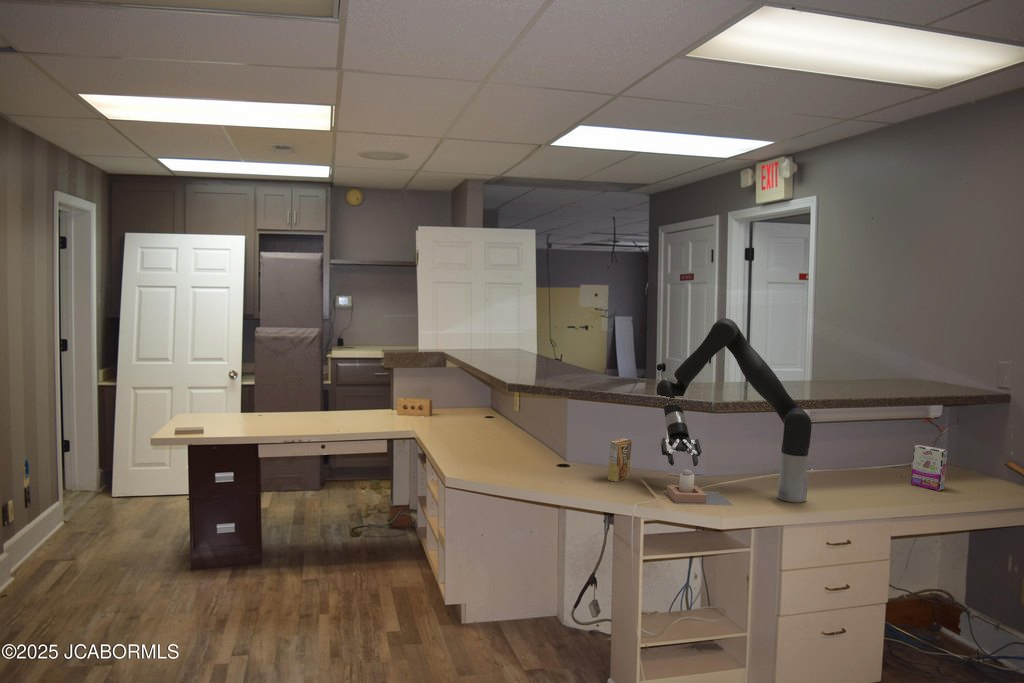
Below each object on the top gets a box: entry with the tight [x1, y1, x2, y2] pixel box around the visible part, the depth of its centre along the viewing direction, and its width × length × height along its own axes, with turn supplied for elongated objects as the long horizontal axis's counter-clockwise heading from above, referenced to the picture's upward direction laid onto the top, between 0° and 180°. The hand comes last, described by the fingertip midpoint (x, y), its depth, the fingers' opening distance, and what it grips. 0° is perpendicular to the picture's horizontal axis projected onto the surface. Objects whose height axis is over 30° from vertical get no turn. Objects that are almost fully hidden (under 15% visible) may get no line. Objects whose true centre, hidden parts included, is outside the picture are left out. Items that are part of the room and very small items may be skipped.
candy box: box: [607, 438, 633, 483], centre depth 289 cm, size 9×4×15 cm, turn 137°
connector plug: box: [678, 468, 695, 493], centre depth 265 cm, size 5×5×10 cm
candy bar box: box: [910, 444, 948, 492], centre depth 300 cm, size 11×5×16 cm, turn 40°
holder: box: [662, 484, 734, 506], centre depth 267 cm, size 21×16×4 cm
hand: (684, 464), depth 269 cm, fingers open, 8 cm apart
